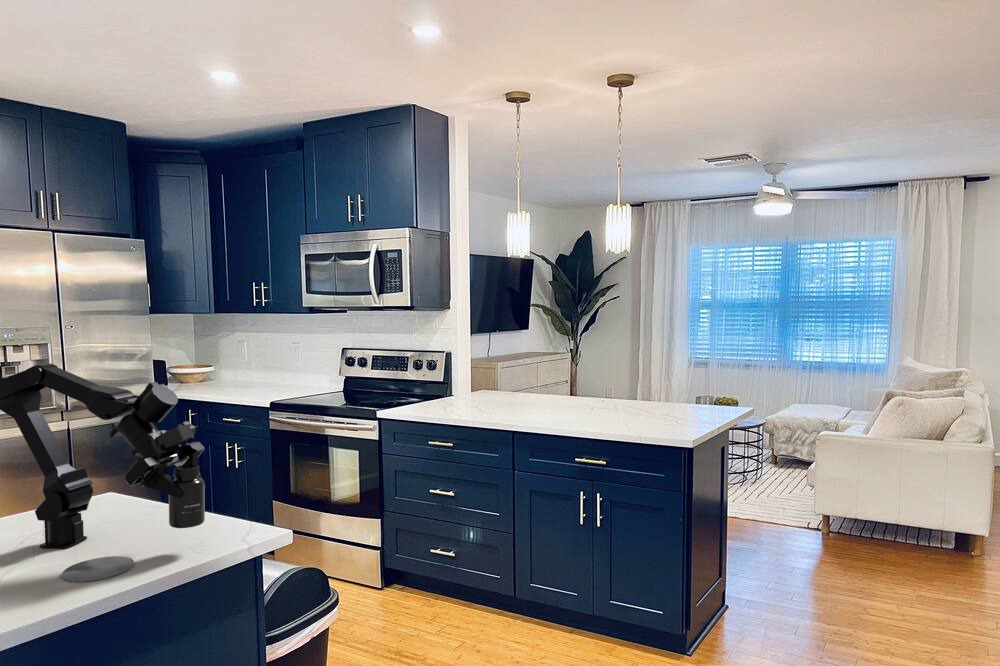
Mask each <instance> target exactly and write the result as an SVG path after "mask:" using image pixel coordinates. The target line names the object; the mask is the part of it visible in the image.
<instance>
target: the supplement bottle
mask: <svg viewBox="0 0 1000 666" xmlns="http://www.w3.org/2000/svg"><path fill="white" fill-rule="evenodd" d="M199 471H200V465H181V466H176V467H175V466H174V467H173V477H174V479H173V480H174V482H175V483H176V484H177V486H178V487H179V489H180V490H181V492H182V493H183V496H182V498H180V499H178V498H176V497H173V496H171V495H168V525H169V526H170V527H171V528H174V529H189V528H190V529H191V528H195V527H198V526H201V525H202V524H203V523H204V522H205V519H206V518H205V517H206V514H205V513H206V512H205V511H206V510H205V505H206V504H205V503H206V500H205V499H206V498H205V497H206V496H205V492H206V491H205V488H206V484H205V481H204V479H203V478H202V479H203V480H202V479H201V478H199V477H198V475H200V474H201V472H199Z"/></svg>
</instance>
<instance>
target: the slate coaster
mask: <svg viewBox="0 0 1000 666" xmlns="http://www.w3.org/2000/svg"><path fill="white" fill-rule="evenodd" d="M134 562H135V561H134V559H133V558H131V557H127V556H120V555H119V556H115V555H114V556H113V555H112V556H111V555H110V556H101V557H95V558H92V559H87V560H83V561H80V562H76V563H75V564H72V565H70V566H68V567H67V568H65V569H64V570H63V571H62V574H61V575H62V576H61V578H62V577H63V578H62V579H63V580H64V579H65V581H67V580H68V581H67V582H71V581H89V582H95V581H94V580H97V581H102V580H106V578H107V579H109V578H110V577H111V578H114V577H117V576H120V575H122V574H125V573H127V572H128V571H130V570H131V569H132V568H133V567H134V564H135V563H134ZM129 569H130V570H129ZM119 574H120V575H119ZM116 575H117V576H116ZM113 576H114V577H113ZM101 579H102V580H101Z"/></svg>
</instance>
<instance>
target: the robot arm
mask: <svg viewBox="0 0 1000 666" xmlns="http://www.w3.org/2000/svg"><path fill="white" fill-rule="evenodd" d="M46 388H48V389H51V390H53V391H55V392H58V393H59V394H62V395H64V396H67V397H68V398H71V399H73V400H75V401H78V402H80V403H82V404H83V405H85V407H86V408H87V410H88V412H90V413H91V414H93V415H94V416H96V417H97V418H99V419H100V420H103V421H110V420H114V419H118V418H121V419H120V420H119V421H118V422H116V423H112V424H111V425H110V426H111V427H110V428H111V429H110V433H109V437H110V438H116V437H121V436H123V438H124V439H125V440H126V441H127V443H129V445H130V446H131V448H133V450H132V452H131V454H132V455H133V457H136V456H140V458H137V460H136V461H135V462H134V463H133V464H132V465H131V466H130V468H128V470H127V471H125V473H124V481H125V482H126V484H127V485H128V486H129V487H130V488H133V487H135V486H138V485H140V487H141V488H143V487H145V488H149V489H152V490H155V491H158V492H160V493H164V494H166V495H168V496H169V495H171V496H173V497H176V498H178V499H180V498H182V496H183V493H182V492H181V490H180V489H179V487H178V486H177V484H176V483H175V482H174V479H173V478H172V476H171V475H170V474H169V468H168V467H169V466H174V468H175V467H176V466H181V465H198V460H199V457H200V456H201V454H202V453H203V452H204V451H205V449H206V448H205V446H204V445H203V444H202V443H201V442H200V441H193V442H189V443H186V444H184V445H183V446H182V445H181V444H183V443H184V442H187V441H189V440H190V441H191V440H193V439H194V438H195V436H194V435H195V434H196V427H195V426H194V425H193V424H192V423H191V422H189V421H188V420H186V421H183V422H181V423H179V424H177V426H176V427H174V428H171V429H169V430H164V429H162V430H159V429H157V428H156V426H155V425H154V424H153V423H160V422H162V420H164V418H165V417H166V416H167V415H168V414H169V413H170V412H171V410H172V409H173V408H174V407H175V406H176V405H177V404H178V401H179V398H178V396H177V394H176V393H175V392H174V391H173V390H172V389H170V388H168V387H166V386H164V385H160V384H159V383H158V382H157V381H154V382H148V384H147V385H146V386H145V389H144V390H143V391H142V392H141V393H140V394H139V395H136V394H135V393H133V392H132V391H131V390H129V389H125V388H122V387H121V388H120V387H116V386H106V385H100V384H97V383H95V382H93V381H91V380H88V379H85V378H83V377H81V376H79V375H77V374H74V373H71V372H69V371H67V370H65V369H63V368H60V367H59V366H58V365H56V364H54V363H45V364H43V363H41V364H34V365H33V366H31V367H29V368H27V369H24V370H22V371H20V372H19V371H18V372H17V373H15V374H11V375H9V376H5V377H0V411H1V412H3V413H4V414H6V415H8V416H9V417H11V418H12V419H13V420H14V421H15V423H16V425H17V427H18V428H19V430H20V432H21V434H22V436H23V438H24V440H25V442H26V444H27V446H28V448H29V449H30V451H31V454H32V455H33V457H34V460H35V462H36V463H37V465H38V467H39V468H40V470H41V473H42V474H43V476H44V480H43V485H42V493H43V495H44V498H45V499H44V500H43V501H42V502H41V503H40V505H39V506H38V507H37V508H36V509H35V510H34V512H35V516H36V519H37V521H41V522H42V521H43V522H44V523H43V524H44V543H41V544H39V548H42V549H43V548H45V549H46V548H48V549H49V548H50V549H51V548H52V549H68V548H71V547H72V546H75V545H76V544H79V543H80V542H83V541H85V540H87V539H88V536H87V535H84V520H82V512H83V511H88V507H89V504H90V501H91V499H92V496H93V494H94V488H93V483H94V482H93V481H92V480H91V479H90V477H89V476H88V474H87V470H86V469H85V468H84V467H81V468H77V469H76V468H74V467H73V466H72V465H71V464H69V462H68V460H67V457H66V455H65V454H64V452H63V450H62V448H61V446H60V444H59V443H58V441H57V438H55V436H54V433H53V432H52V429H51V428H50V425H49V424H48V422H47V420H46V418H45V416H44V414H43V412H42V411H41V401H42V394H41V391H42V390H44V389H46ZM179 449H180V450H179ZM178 450H179V451H178ZM177 451H178V452H177ZM198 466H199V465H198ZM199 472H200V470H199ZM198 477H199V478H201V479H202V480H203V481H204V479H203V477H202V474H201V472H200V475H198Z"/></svg>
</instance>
